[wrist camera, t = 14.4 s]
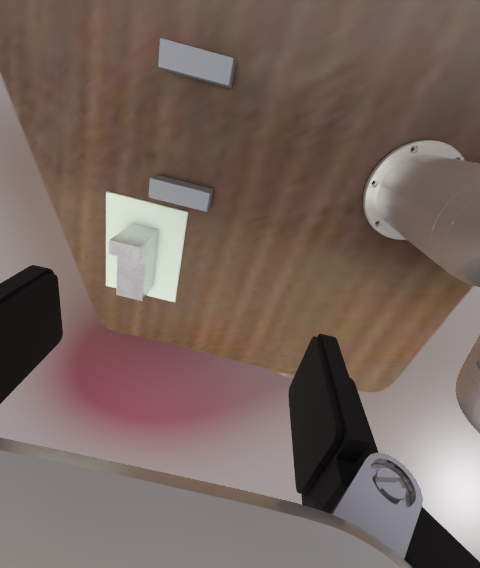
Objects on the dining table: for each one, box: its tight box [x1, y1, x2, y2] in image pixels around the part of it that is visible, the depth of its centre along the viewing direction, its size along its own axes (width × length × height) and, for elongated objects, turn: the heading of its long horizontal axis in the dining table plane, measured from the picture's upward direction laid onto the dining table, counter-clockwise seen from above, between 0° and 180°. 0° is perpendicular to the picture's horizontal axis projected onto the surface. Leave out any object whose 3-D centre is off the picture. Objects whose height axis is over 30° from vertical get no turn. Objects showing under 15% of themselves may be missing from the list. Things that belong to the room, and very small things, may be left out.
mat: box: [106, 191, 189, 302], centre depth 46 cm, size 12×16×1 cm
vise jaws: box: [149, 38, 236, 212], centre depth 36 cm, size 8×17×3 cm, turn 167°
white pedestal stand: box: [109, 223, 159, 301], centre depth 43 cm, size 4×10×8 cm, turn 167°
